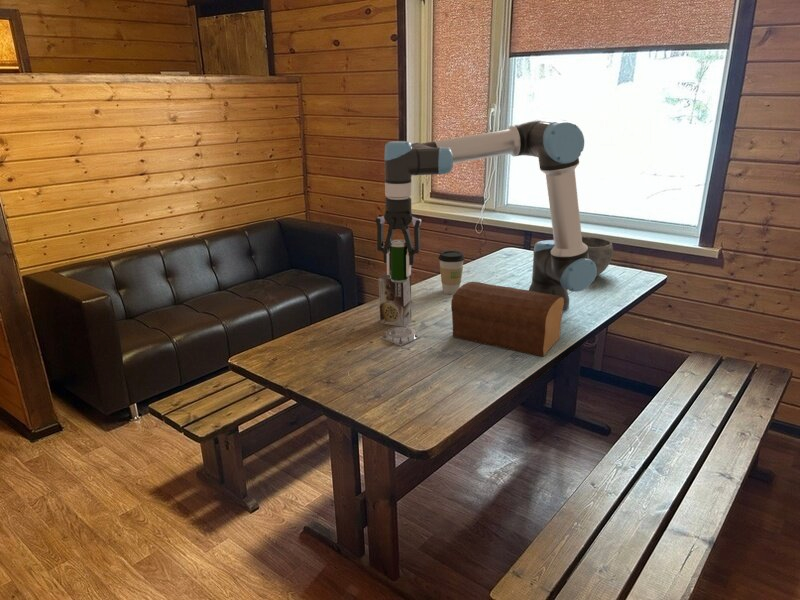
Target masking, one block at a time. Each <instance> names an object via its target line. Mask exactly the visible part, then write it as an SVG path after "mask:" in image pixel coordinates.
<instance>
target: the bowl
mask: <svg viewBox="0 0 800 600" xmlns="http://www.w3.org/2000/svg"><path fill="white" fill-rule="evenodd" d="M582 242H583V243H584V244H586V245H587V247H588V254H589V259H591V260H592V261H593V262H594V263H595V265H596V268H597V273H596V277H598V276H599V275H600V274H602V273H604V272H605V270H606V269H607V268H608V266H609V265H610V263H611V261H612V258H613V255H614V247H613V243H612V241H610V240H607V239H605V238H601V237H595V236H593V237H592V236H591V237H590V236H582Z"/></svg>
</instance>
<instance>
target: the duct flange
mask: <svg viewBox="0 0 800 600" xmlns="http://www.w3.org/2000/svg"><path fill="white" fill-rule="evenodd" d="M380 338H381V339H383V340H386V341H387V342H390V343H393V344H395V345H396V346H400V347H402V346H405V345H407V344H409V343H411V342H414V341H416V340H418V339H420V338H422V335H420V334H417V332H416V330H415V329H414V328H412V327H409V326H405V327H402V326H394V327H391V328H389V329H387V330H386V331H385V334H383V335H380Z"/></svg>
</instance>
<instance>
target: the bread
mask: <svg viewBox="0 0 800 600" xmlns="http://www.w3.org/2000/svg"><path fill="white" fill-rule="evenodd" d="M563 306H564V298H563V297H562V296H558V295H552V294H545V293H539V292H534V291H529V289H520V288H515V287H510V286H503V285H494V284H490V283H485V282H480V281H479V282H478V281H469V282H466V283H464V284H462V285H460V288H459V289H458V290H457V291H456V292H455V293H454V294H452V298H451V302H450V308H451V316H452V317H451V319H452V337H454V338H456V339H461V340H466V341H469V342H474V343H479V344H482V345H487V346H491V347H492V346H493V347H497V348H501V349H505V350H510V351H514V352H515V351H516V352H519V353H524V354H529V355H533V356H539V357H544V356H545V355H546V354H547V353H548V351H549V350H550V349H551V348H552V347H553V345H555V343H556V342H557V341H558V340H559V339H560V337H561V326H562V316H563Z"/></svg>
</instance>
